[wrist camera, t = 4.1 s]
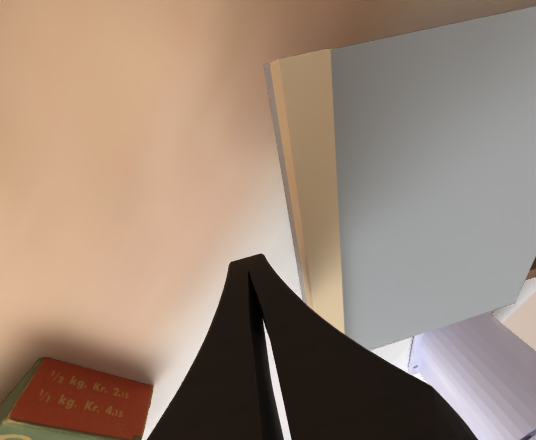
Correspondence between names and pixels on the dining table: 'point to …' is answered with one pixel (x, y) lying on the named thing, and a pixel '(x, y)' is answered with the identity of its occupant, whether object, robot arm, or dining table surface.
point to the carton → (74, 405)
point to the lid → (411, 174)
